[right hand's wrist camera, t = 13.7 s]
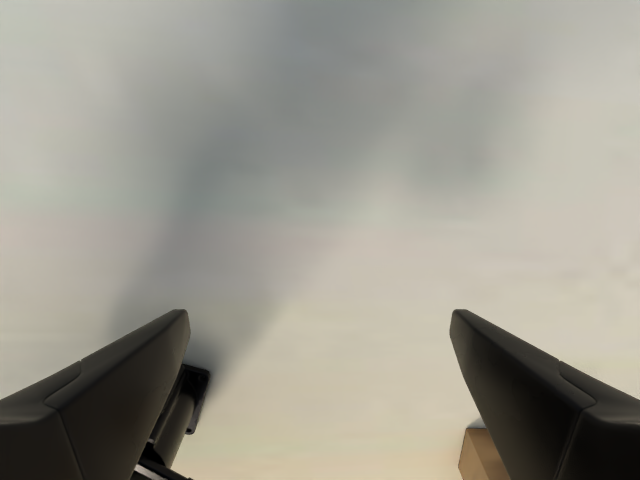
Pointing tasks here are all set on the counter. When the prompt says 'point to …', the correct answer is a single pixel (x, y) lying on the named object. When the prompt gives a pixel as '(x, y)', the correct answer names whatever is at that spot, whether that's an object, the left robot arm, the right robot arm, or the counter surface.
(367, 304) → the counter surface
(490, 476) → the brown wooden cube
